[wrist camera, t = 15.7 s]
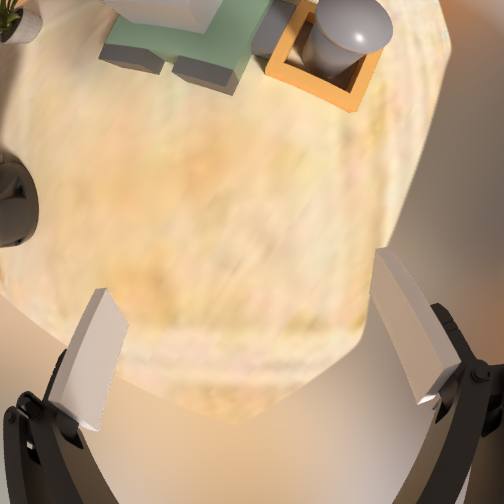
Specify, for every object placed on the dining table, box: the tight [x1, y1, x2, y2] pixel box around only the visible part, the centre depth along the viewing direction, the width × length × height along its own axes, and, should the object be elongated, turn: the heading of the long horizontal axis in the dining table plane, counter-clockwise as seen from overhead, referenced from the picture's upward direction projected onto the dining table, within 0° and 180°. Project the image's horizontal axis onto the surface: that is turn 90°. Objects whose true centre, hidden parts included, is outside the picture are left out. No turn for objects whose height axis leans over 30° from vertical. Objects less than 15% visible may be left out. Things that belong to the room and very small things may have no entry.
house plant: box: [0, 0, 43, 44], centre depth 15 cm, size 14×14×16 cm
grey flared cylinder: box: [302, 0, 393, 77], centre depth 20 cm, size 6×6×13 cm
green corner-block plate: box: [98, 0, 384, 113], centre depth 19 cm, size 30×19×13 cm, turn 68°
